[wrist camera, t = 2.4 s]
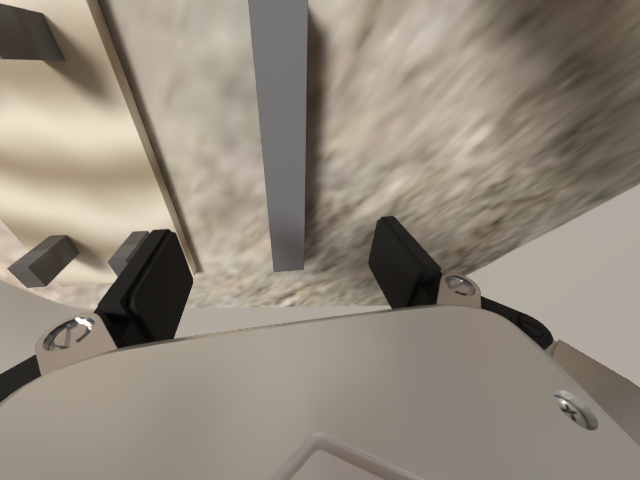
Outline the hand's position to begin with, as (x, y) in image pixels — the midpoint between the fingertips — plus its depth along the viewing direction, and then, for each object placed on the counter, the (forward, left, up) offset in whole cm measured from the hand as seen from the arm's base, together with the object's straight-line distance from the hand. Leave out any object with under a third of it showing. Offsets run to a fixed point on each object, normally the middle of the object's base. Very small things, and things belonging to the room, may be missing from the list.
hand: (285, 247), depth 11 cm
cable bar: (-1, 0, -12) cm, 12 cm away
